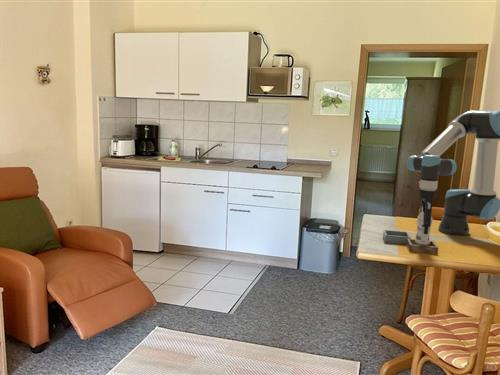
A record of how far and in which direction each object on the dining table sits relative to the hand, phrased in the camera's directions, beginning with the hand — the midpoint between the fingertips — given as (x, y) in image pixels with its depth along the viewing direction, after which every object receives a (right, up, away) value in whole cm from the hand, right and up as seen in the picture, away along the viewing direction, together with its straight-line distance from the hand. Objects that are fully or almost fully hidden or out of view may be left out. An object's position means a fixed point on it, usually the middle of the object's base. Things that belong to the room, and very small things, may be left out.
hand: (422, 238), depth 205 cm
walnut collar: (0, -5, +1) cm, 5 cm away
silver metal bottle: (0, -5, +1) cm, 6 cm away
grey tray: (-8, -3, +14) cm, 16 cm away
